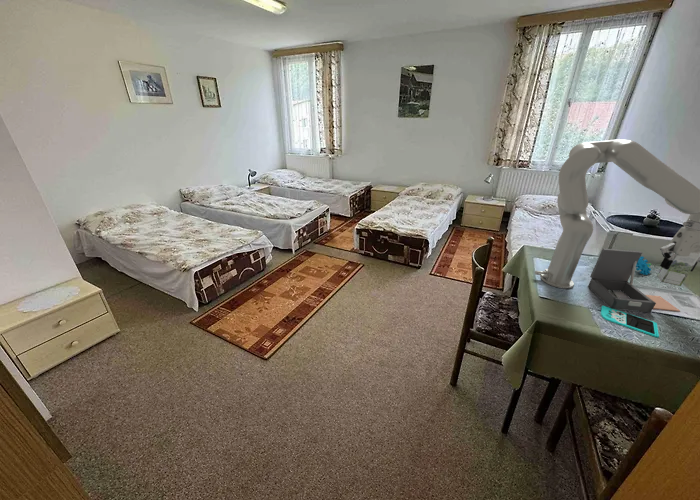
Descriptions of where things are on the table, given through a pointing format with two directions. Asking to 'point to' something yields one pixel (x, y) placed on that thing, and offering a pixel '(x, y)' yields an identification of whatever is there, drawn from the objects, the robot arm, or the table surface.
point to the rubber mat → (662, 303)
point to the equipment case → (619, 280)
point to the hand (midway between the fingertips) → (675, 268)
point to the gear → (643, 266)
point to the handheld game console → (630, 321)
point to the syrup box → (678, 269)
